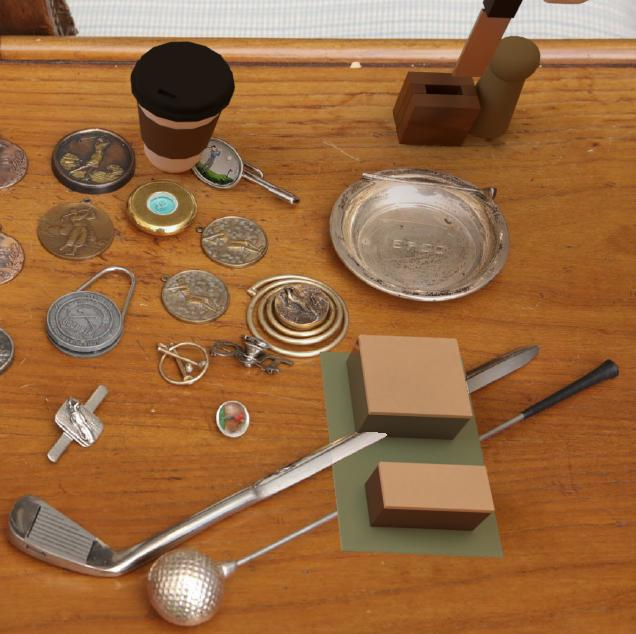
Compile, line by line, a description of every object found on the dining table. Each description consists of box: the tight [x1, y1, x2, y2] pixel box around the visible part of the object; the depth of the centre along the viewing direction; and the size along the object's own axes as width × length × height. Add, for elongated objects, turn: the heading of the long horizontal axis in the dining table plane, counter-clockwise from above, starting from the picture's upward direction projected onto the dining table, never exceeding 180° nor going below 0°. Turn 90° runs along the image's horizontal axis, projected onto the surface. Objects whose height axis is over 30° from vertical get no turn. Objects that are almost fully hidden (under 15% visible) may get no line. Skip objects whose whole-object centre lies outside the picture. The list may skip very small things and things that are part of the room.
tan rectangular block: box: [365, 462, 496, 531], centre depth 79 cm, size 9×4×5 cm, turn 88°
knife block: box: [392, 70, 481, 147], centre depth 105 cm, size 7×6×6 cm
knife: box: [451, 0, 524, 78], centre depth 86 cm, size 3×2×16 cm
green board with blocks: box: [319, 334, 505, 559], centre depth 83 cm, size 14×20×6 cm
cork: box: [468, 35, 542, 139], centre depth 103 cm, size 6×6×11 cm
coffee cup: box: [129, 40, 236, 174], centre depth 100 cm, size 11×11×12 cm
